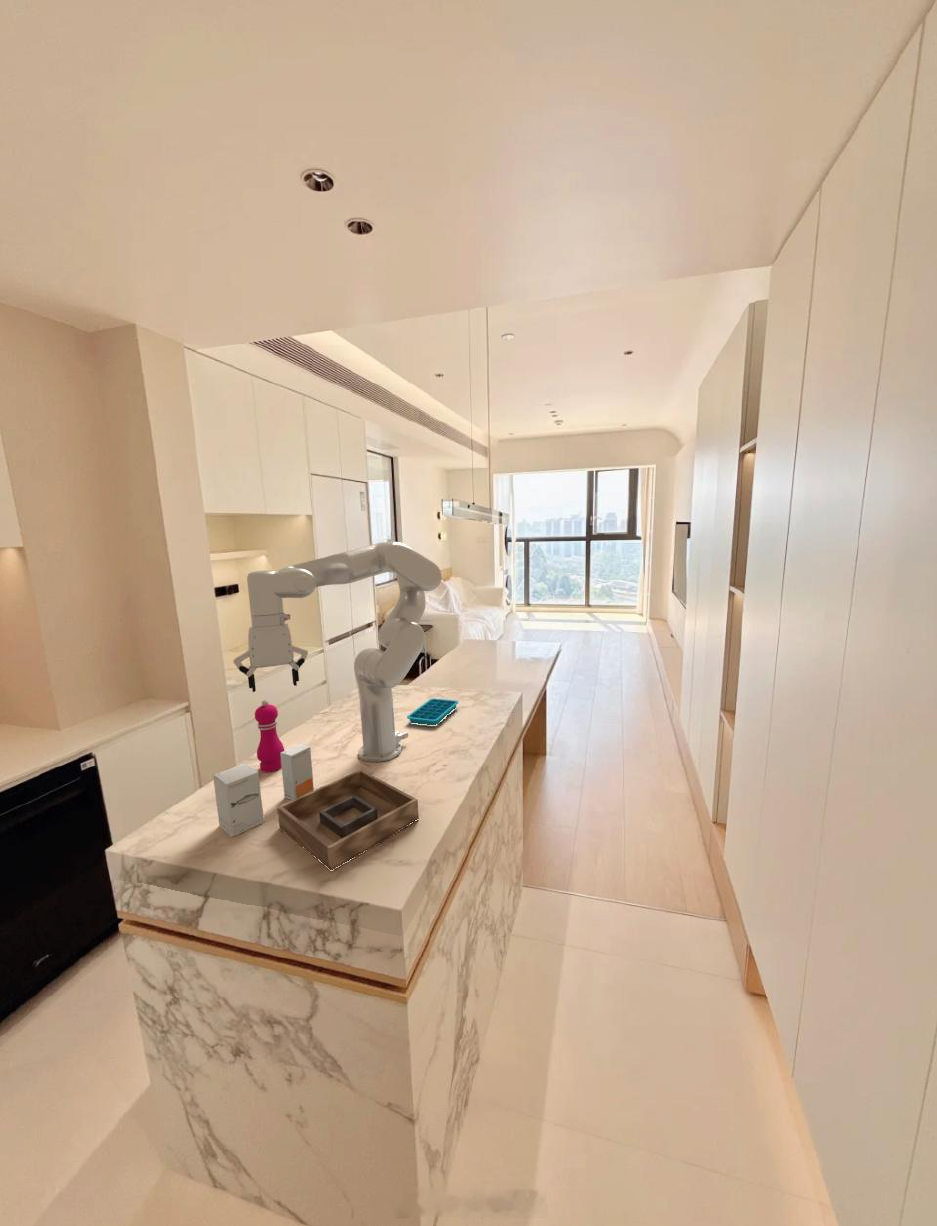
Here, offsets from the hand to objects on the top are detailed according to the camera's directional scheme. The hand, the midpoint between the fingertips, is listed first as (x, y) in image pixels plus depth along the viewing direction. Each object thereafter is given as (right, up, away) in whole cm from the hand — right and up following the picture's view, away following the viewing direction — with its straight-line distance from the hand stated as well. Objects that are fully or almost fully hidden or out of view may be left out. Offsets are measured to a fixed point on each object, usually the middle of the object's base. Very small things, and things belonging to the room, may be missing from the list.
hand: (274, 687), depth 120 cm
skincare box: (+6, -27, 0) cm, 28 cm away
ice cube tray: (+37, -18, +49) cm, 64 cm away
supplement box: (-2, -30, -12) cm, 32 cm away
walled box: (+22, -28, -14) cm, 39 cm away
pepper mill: (-7, -25, +15) cm, 30 cm away
